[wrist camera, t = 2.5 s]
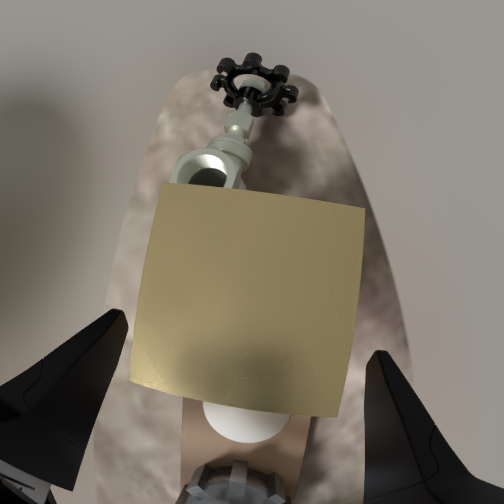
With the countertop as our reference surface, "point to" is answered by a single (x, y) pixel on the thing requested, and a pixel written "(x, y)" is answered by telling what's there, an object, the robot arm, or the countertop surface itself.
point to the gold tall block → (249, 299)
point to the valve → (235, 124)
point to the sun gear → (233, 486)
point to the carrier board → (242, 440)
